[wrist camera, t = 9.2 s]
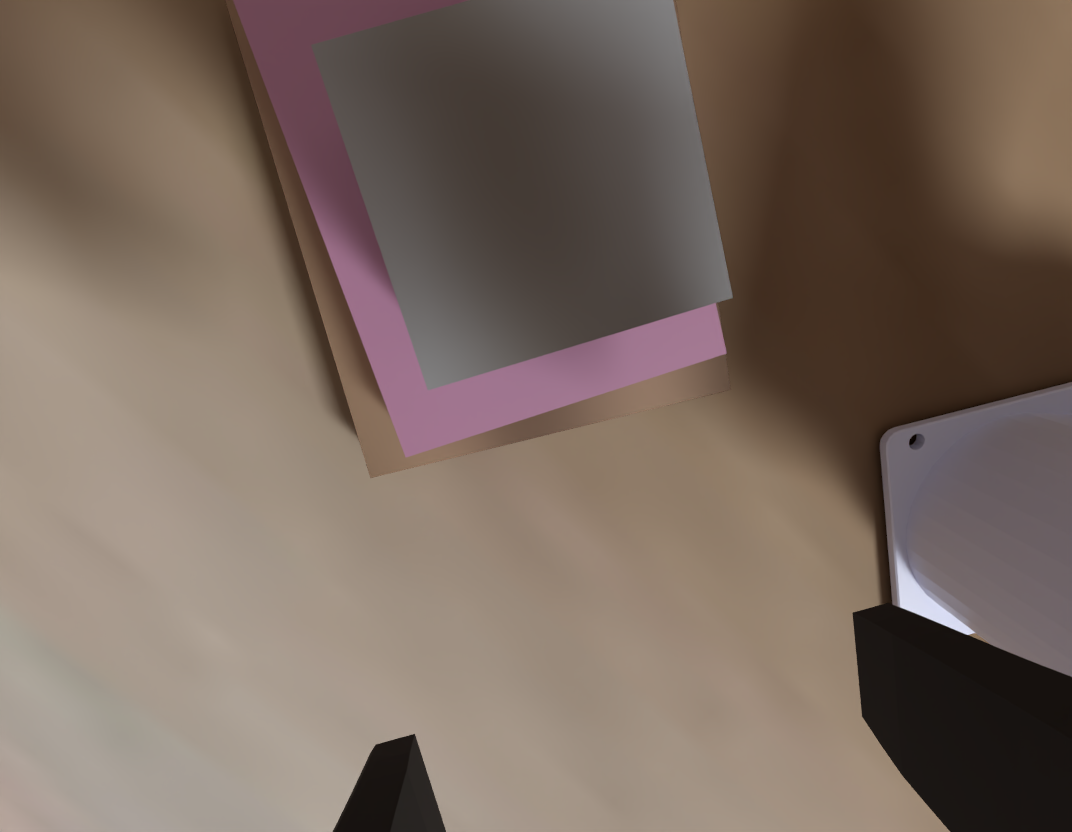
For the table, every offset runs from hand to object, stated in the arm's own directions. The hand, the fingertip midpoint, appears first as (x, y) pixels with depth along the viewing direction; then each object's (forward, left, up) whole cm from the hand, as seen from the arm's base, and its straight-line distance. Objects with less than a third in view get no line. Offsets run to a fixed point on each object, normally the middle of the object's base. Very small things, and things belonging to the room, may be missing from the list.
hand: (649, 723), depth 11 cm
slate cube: (0, -8, -7) cm, 11 cm away
